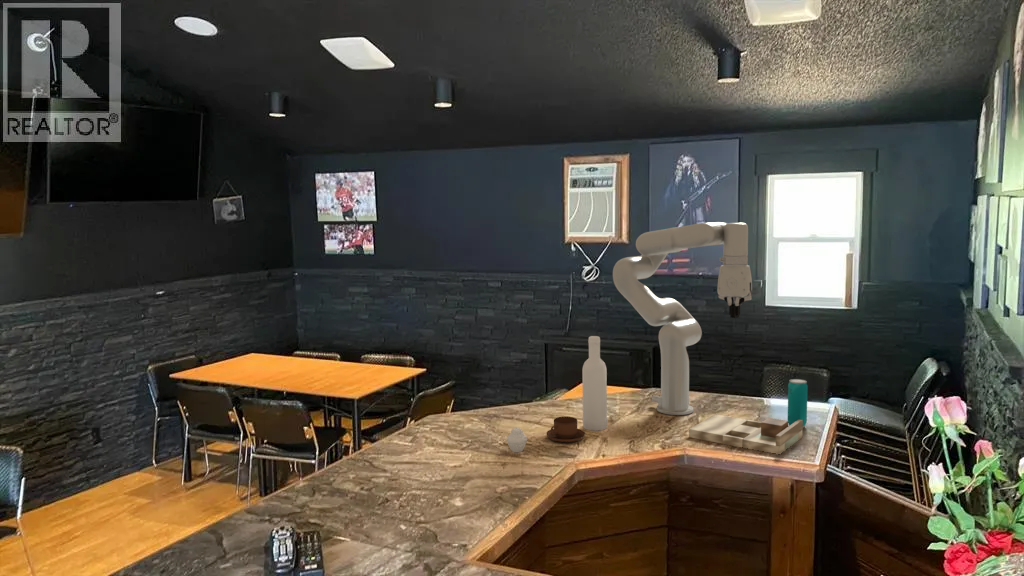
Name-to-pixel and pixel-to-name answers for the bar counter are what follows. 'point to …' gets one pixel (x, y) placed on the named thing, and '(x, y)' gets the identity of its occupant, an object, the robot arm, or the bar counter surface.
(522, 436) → the grey lidded jar
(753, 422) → the trap board
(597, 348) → the bottle
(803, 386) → the beverage can
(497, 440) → the bar counter surface
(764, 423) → the walnut block
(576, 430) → the cup and saucer
